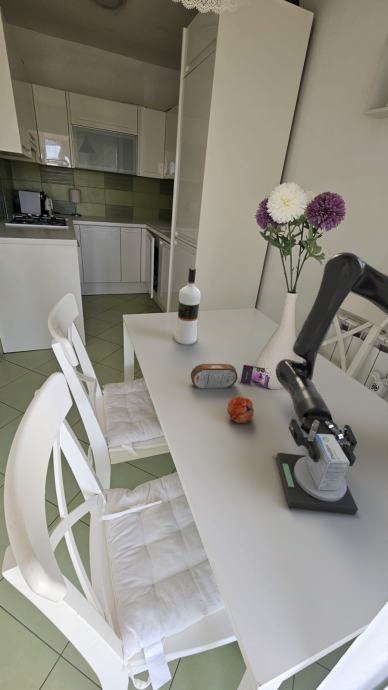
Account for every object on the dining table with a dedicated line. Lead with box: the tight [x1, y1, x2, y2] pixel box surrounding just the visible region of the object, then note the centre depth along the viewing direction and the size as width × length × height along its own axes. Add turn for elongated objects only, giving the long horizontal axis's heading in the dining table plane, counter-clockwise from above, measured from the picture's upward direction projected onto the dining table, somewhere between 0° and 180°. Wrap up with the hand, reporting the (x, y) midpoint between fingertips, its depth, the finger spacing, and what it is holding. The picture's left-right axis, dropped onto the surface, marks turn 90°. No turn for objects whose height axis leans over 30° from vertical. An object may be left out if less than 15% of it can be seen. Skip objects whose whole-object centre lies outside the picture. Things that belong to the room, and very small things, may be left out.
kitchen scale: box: [275, 452, 359, 516], centre depth 68 cm, size 14×13×4 cm
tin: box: [190, 363, 238, 389], centre depth 97 cm, size 15×3×8 cm, turn 100°
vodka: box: [173, 267, 202, 345], centre depth 119 cm, size 9×9×30 cm
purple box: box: [240, 364, 270, 389], centre depth 102 cm, size 7×5×9 cm
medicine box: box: [305, 434, 350, 491], centre depth 65 cm, size 8×4×9 cm, turn 2°
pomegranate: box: [226, 396, 255, 424], centre depth 85 cm, size 7×7×10 cm
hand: (334, 461), depth 62 cm, fingers open, 6 cm apart
